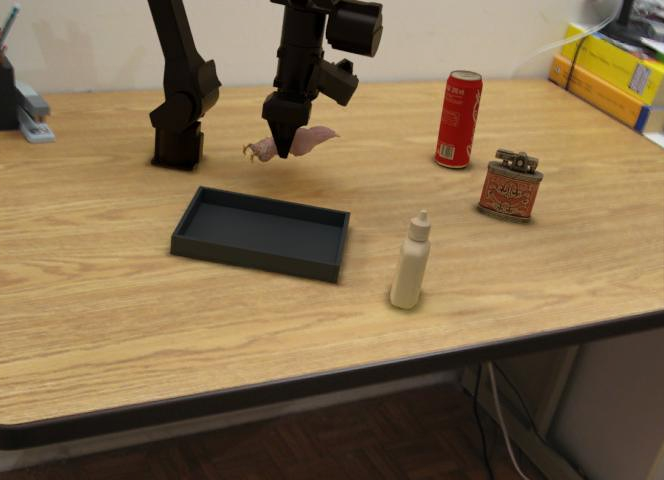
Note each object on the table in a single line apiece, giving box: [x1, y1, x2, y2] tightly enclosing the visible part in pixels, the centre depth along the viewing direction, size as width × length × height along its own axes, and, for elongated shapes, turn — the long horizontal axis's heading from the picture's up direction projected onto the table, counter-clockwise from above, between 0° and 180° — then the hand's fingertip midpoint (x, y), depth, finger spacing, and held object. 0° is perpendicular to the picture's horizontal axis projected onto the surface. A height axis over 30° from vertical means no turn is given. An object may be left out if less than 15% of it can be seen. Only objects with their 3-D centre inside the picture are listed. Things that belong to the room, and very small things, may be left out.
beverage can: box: [434, 69, 484, 169], centre depth 141 cm, size 6×6×15 cm
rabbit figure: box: [242, 125, 341, 165], centre depth 126 cm, size 6×6×15 cm
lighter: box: [476, 147, 544, 225], centre depth 128 cm, size 8×3×10 cm, turn 71°
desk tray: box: [169, 185, 351, 285], centre depth 114 cm, size 21×15×3 cm
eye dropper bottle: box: [389, 209, 432, 310], centre depth 104 cm, size 4×6×12 cm
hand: (287, 148), depth 126 cm, fingers closed on rabbit figure, 7 cm apart
